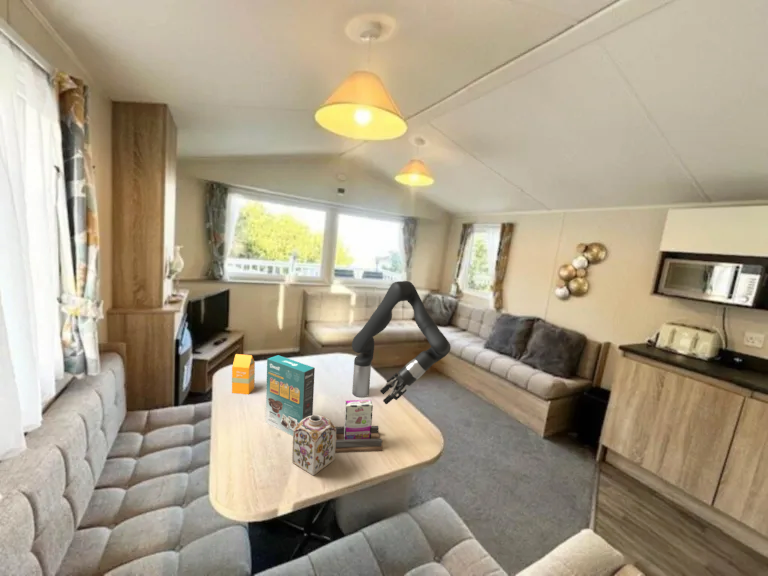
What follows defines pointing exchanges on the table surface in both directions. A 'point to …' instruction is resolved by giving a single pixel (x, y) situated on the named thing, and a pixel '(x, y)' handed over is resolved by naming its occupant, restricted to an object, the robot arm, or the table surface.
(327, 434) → the decorative jar
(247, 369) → the orange juice
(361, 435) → the candy bar box
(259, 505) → the table surface
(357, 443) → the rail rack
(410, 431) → the table surface
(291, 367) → the cake mix box
